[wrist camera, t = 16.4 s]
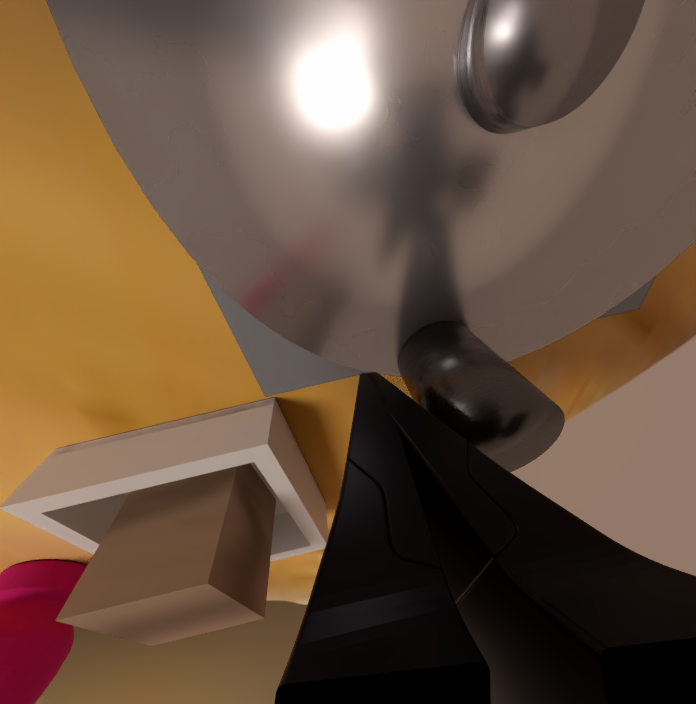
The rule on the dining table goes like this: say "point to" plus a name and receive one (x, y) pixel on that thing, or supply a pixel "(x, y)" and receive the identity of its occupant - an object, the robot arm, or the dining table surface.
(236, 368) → the dining table surface
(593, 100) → the crank
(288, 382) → the crank board
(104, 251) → the dining table surface
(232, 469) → the block
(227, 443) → the tray
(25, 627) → the pepper mill
